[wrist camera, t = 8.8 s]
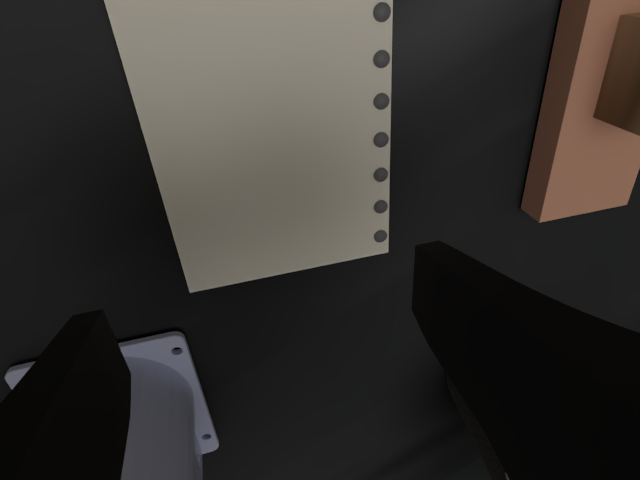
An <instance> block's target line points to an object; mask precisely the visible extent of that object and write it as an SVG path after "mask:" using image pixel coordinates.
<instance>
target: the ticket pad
mask: <svg viewBox="0 0 640 480" xmlns="http://www.w3.org/2000/svg"><path fill="white" fill-rule="evenodd" d="M104 2H105V6H106V9H107V12H108V16H109V19H110V23H111V26H112V29H113V33H114V36H115V40H116V43H117V46H118V50H119V53H120V57H121V60H122V63H123V67H124V70H125V74H126V77H127V80H128V84H129V87H130V91H131V94H132V98H133V101H134V104H135V108H136V111H137V115H138V118H139V121H140V125H141V128H142V132H143V135H144V138H145V142H146V145H147V149H148V152H149V155H150V159H151V162H152V166H153V169H154V172H155V176H156V179H157V183H158V186H159V190H160V193H161V196H162V200H163V203H164V207H165V210H166V213H167V217H168V220H169V224H170V227H171V230H172V234H173V237H174V241H175V244H176V247H177V251H178V254H179V258H180V261H181V264H182V268H183V271H184V275H185V278H186V282H187V285H188V288H189V292H190V293H192V292H197V291H202V290H206V289H211V288H216V287H221V286H226V285H231V284H236V283H241V282H246V281H250V280H255V279H260V278H265V277H270V276H275V275H280V274H285V273H289V272H294V271H299V270H304V269H309V268H314V267H319V266H324V265H329V264H333V263H338V262H343V261H348V260H353V259H358V258H363V257H368V256H372V255H377V254H382V253H387V252H388V241H389V184H390V128H391V71H392V14H393V0H104Z"/></svg>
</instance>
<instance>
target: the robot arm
mask: <svg viewBox="0 0 640 480" xmlns="http://www.w3.org/2000/svg"><path fill="white" fill-rule="evenodd" d="M412 311H413V313H414V315H415V317H416V320H417V322H418V324H419V326H420V328H421V331H422V333H423V335H424V337H425V339H426V341H427V343H428V345H429V346H430V348H431V350H432V351H433V353H434V354H435V356H436V357H437V359H438V361H439V362H440V364H441V365H442V367H443V368H444V370H445V372H446V373H447V375H448V376H449V378H450V379H451V381H452V382H453V384H454V385H455V387H456V388H457V390H458V392H459V393H460V395H461V396H462V398H463V399H464V401H465V402H466V404H467V405H468V407H469V408H470V410H471V412H472V413H473V415H474V416H475V418H476V419H477V421H478V423H479V424H480V426H481V428H482V429H483V431H484V433H485V434H486V436H487V438H488V440H489V441H490V443H491V445H492V447H493V449H494V451H495V453H496V455H497V457H498V459H499V461H500V463H501V465H502V467H503V468H504V470H505V472H506V474H507V476H508V478H509V480H640V333H638V332H635V331H632V330H629V329H626V328H624V327H621V326H618V325H615V324H613V323H610V322H607V321H605V320H602V319H600V318H597V317H595V316H592V315H589V314H587V313H584V312H582V311H579V310H577V309H575V308H572V307H570V306H567V305H565V304H563V303H561V302H559V301H556V300H554V299H552V298H550V297H548V296H546V295H543V294H541V293H539V292H537V291H535V290H533V289H531V288H529V287H527V286H525V285H523V284H521V283H519V282H517V281H515V280H513V279H511V278H509V277H507V276H505V275H503V274H501V273H499V272H498V271H496V270H494V269H492V268H490V267H488V266H486V265H485V264H483V263H481V262H479V261H477V260H475V259H473V258H472V257H470V256H468V255H466V254H464V253H462V252H461V251H459V250H457V249H455V248H453V247H451V246H449V245H447V244H445V243H443V242H441V241H435V242H430V243H425V244H420V245H416V246H415V263H414V281H413V298H412ZM175 347H179V348H180V349H173V348H175ZM5 380H6V382H7V383H8V385H9V386H10V388H11V389H12V391H11V392H10V393H9V394H8V395H7V396H6V398H5V399H4V400H3V401H2V402H1V403H0V480H203V473H202V454H205V453H208V452H212V451H215V450H216V449H217V448H218V446H219V441H218V437H217V434H216V431H215V428H214V424H213V421H212V418H211V415H210V412H209V409H208V406H207V403H206V400H205V397H204V394H203V390H202V387H201V384H200V381H199V378H198V375H197V372H196V369H195V366H194V363H193V359H192V356H191V353H190V350H189V347H188V344H187V341H186V338H185V336H184V334H183V333H181V332H178V331H172V332H168V333H163V334H158V335H154V336H149V337H145V338H140V339H135V340H131V341H126V342H122V343H117V340H116V338H115V336H114V334H113V331H112V329H111V327H110V325H109V322H108V320H107V318H106V316H105V313H104V311H103V309H102V310H97V311H92V312H87V313H82V314H78V315H73V316H72V317H71V318H70V319H69V321H68V322H67V323H66V324H65V325H64V327H63V328H62V329H61V330H60V331H59V333H58V334H57V335H56V336H55V338H54V339H53V340H52V341H51V343H50V344H49V345H48V346H47V348H46V349H45V350H44V351H43V353H42V354H41V355H40V356H39V358H38V359H37V360H36V361H34V362H30V363H25V364H20V365H16V366H13V367H10V368H9V369H8V371H7V373H6V375H5Z"/></svg>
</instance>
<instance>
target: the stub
mask: <svg viewBox="0 0 640 480" xmlns="http://www.w3.org/2000/svg"><path fill="white" fill-rule="evenodd" d="M639 168H640V0H562V4H561V9H560V14H559V19H558V24H557V29H556V34H555V39H554V44H553V49H552V54H551V59H550V64H549V69H548V74H547V79H546V84H545V89H544V94H543V99H542V104H541V109H540V114H539V119H538V124H537V129H536V134H535V139H534V144H533V149H532V154H531V159H530V164H529V169H528V174H527V179H526V184H525V189H524V194H523V199H522V204H521V209H522V210H523V211H525V212H526V213H527V214H529V215H530V216H531V217H533V218H534V219H535V220H537V221H538V222H539V223H540V222H545V221H549V220H554V219H559V218H564V217H569V216H574V215H579V214H584V213H588V212H593V211H598V210H603V209H608V208H613V207H618V206H623V205H627V203H628V200H629V197H630V194H631V191H632V188H633V185H634V183H635V180H636V177H637V174H638V171H639Z"/></svg>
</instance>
